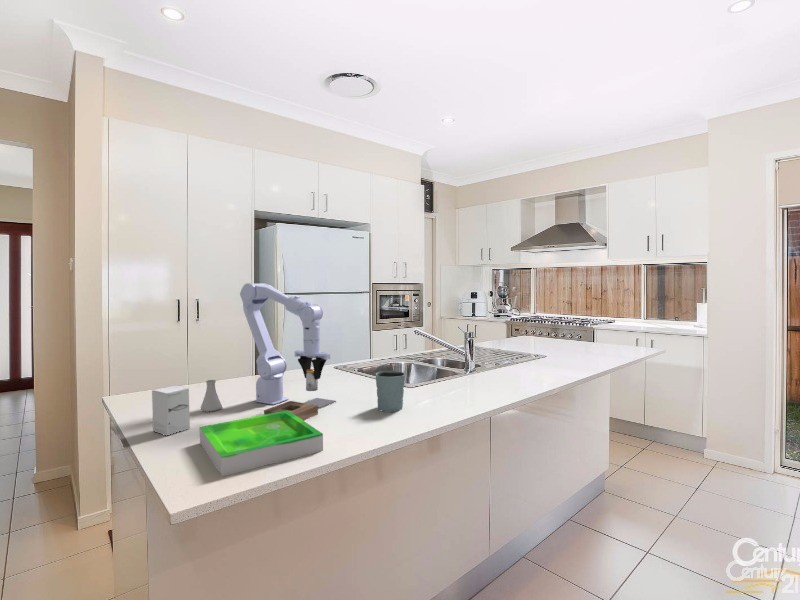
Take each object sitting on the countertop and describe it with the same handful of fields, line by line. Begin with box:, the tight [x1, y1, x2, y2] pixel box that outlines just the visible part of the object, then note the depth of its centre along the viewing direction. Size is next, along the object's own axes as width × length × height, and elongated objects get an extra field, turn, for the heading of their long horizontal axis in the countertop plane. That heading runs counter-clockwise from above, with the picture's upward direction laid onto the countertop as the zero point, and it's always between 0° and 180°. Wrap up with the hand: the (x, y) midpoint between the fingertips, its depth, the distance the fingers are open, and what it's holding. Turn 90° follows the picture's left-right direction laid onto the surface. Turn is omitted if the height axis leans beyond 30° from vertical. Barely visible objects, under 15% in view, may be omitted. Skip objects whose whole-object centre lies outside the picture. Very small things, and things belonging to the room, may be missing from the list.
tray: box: [198, 410, 324, 477], centre depth 116 cm, size 25×25×5 cm
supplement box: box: [151, 385, 191, 437], centre depth 128 cm, size 7×7×13 cm
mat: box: [303, 397, 337, 409], centre depth 156 cm, size 9×9×1 cm
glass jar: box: [305, 368, 319, 392], centre depth 152 cm, size 4×4×7 cm
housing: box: [263, 400, 319, 421], centre depth 141 cm, size 12×12×3 cm
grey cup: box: [375, 370, 406, 413], centre depth 149 cm, size 10×10×12 cm
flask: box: [200, 379, 224, 413], centre depth 150 cm, size 7×7×10 cm
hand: (312, 378), depth 152 cm, fingers closed on glass jar, 4 cm apart
